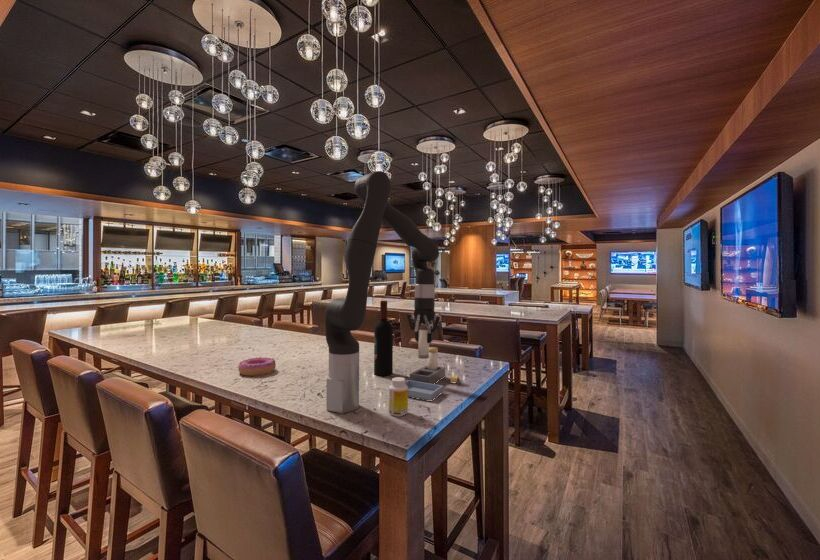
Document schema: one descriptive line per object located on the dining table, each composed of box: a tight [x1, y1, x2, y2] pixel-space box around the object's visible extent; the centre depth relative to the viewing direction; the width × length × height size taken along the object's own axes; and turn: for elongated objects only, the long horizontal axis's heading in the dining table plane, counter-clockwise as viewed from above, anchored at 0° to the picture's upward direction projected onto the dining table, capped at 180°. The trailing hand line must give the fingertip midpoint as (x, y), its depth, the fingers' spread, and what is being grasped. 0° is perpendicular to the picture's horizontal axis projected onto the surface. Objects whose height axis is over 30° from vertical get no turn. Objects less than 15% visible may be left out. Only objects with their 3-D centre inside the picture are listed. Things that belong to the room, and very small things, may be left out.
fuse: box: [426, 346, 439, 371], centre depth 143 cm, size 4×4×12 cm
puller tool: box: [450, 374, 458, 383], centre depth 140 cm, size 8×2×1 cm, turn 172°
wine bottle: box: [373, 300, 394, 378], centre depth 148 cm, size 8×8×30 cm
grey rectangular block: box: [409, 364, 446, 384], centre depth 139 cm, size 15×8×4 cm, turn 152°
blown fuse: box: [417, 324, 430, 360], centre depth 135 cm, size 4×4×12 cm
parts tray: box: [405, 379, 444, 401], centre depth 124 cm, size 14×10×2 cm
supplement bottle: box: [388, 376, 409, 417], centre depth 107 cm, size 6×6×10 cm
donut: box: [237, 356, 277, 377], centre depth 150 cm, size 14×14×5 cm
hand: (423, 342), depth 135 cm, fingers closed on blown fuse, 4 cm apart
